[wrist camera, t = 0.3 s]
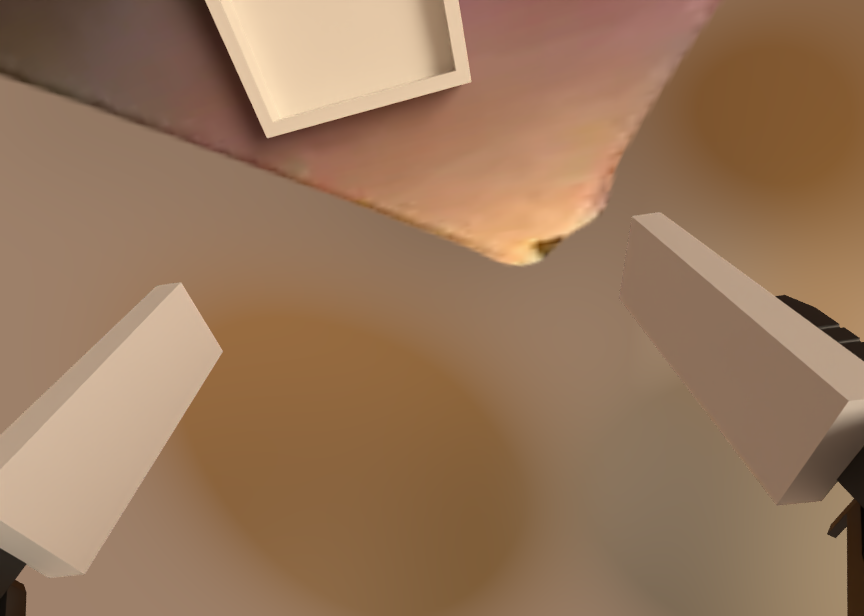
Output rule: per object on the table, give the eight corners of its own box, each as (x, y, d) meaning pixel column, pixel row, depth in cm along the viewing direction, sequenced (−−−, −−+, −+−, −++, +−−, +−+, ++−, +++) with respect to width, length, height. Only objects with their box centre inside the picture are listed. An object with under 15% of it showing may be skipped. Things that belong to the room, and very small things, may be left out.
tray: (185, -85, 27) (161, -98, 24) (427, -170, 25) (427, -194, 22) (278, 131, 34) (267, 138, 32) (467, 78, 32) (471, 81, 30)
